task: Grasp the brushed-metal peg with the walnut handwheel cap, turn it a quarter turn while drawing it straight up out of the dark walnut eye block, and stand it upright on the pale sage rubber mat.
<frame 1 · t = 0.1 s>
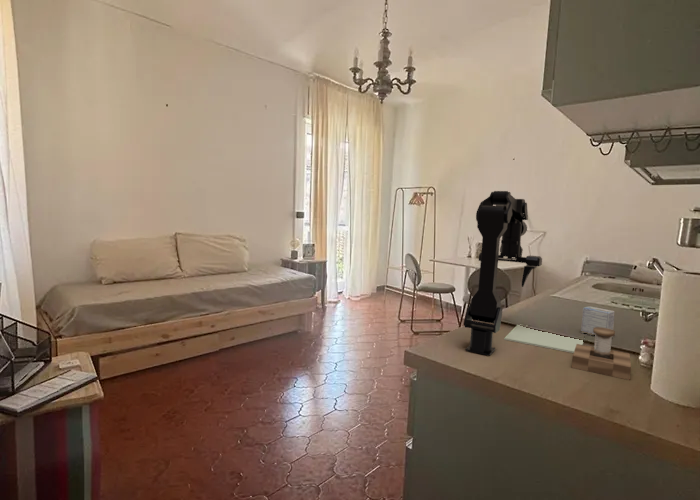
hand: (507, 284, 134), 15 cm above the counter, fingers open, 9 cm apart
sage mat: (545, 338, 126), on the counter
metal peg: (602, 348, 103), in the walnut eye block
walnut eye block: (600, 366, 104), on the counter
medicine box: (596, 336, 131), on the counter
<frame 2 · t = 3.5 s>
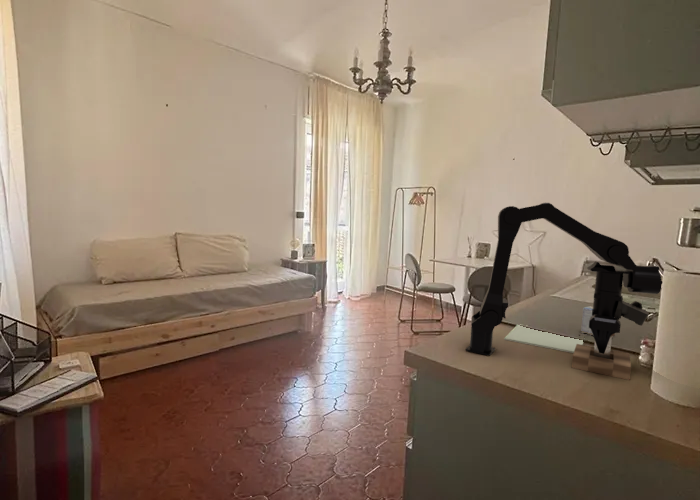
hand: (601, 350, 103), 4 cm above the counter, fingers closed on metal peg, 4 cm apart
metal peg: (602, 348, 103), in the walnut eye block, touching gripper
everything else where it was.
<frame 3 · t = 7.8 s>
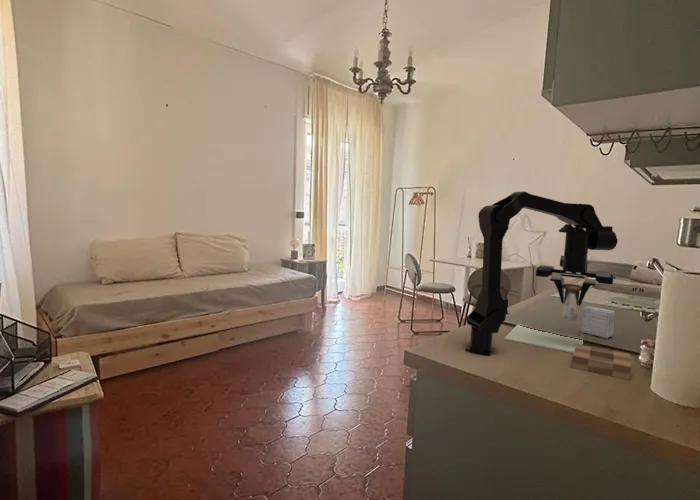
hand: (570, 304, 115), 13 cm above the counter, fingers closed on metal peg, 4 cm apart
metal peg: (571, 302, 115), point 14 cm above the counter, touching gripper
everything else where it was.
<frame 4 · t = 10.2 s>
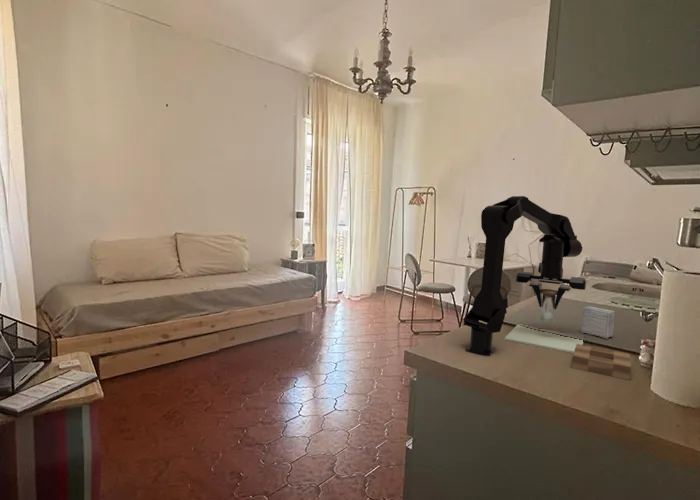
hand: (548, 308, 125), 10 cm above the counter, fingers closed on metal peg, 4 cm apart
metal peg: (548, 305, 125), point 10 cm above the counter, touching gripper
everything else where it was.
when the fingers open (5 cm above the counter, at t = 12.3 s): metal peg stays where it is, resting on sage mat.
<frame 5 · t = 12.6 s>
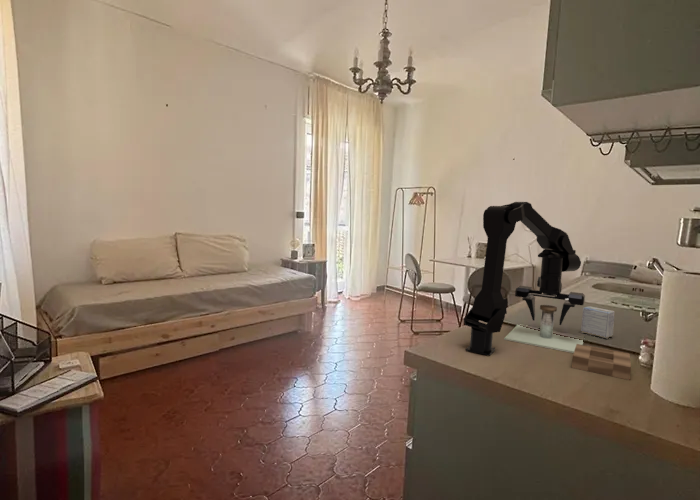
hand: (546, 322, 125), 5 cm above the counter, fingers open, 7 cm apart
metal peg: (547, 321, 125), on the sage mat
everything else where it was.
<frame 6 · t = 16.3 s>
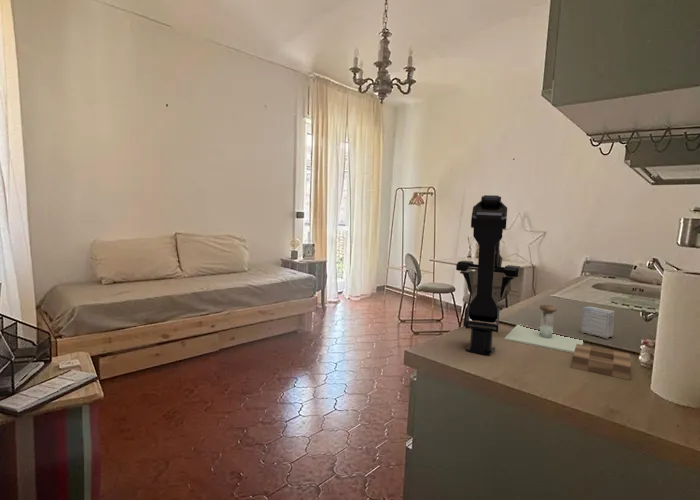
hand: (486, 295, 128), 12 cm above the counter, fingers open, 9 cm apart
nothing on the counter moved.
at the end: metal peg inside the target area on the sage mat (0.0 cm from its centre), point 5.2 cm above the sage mat's base; metal peg tilted 0°; the gripper is holding nothing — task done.
